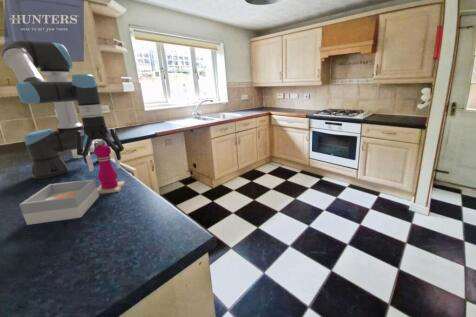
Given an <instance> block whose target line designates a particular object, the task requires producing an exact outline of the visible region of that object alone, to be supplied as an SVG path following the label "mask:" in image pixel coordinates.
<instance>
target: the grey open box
mask: <svg viewBox="0 0 476 317" xmlns="http://www.w3.org/2000/svg"><path fill="white" fill-rule="evenodd" d="M97 188H98V186H97V183H96V179H94V178H93V179H86V180H75V181H68V182H67V181H65V182H59V183H58V182H57V183H49V184H48V185H46V186H45V187H43V188H41V189H40V190H39V191H37V192H36V193H34V194H32V195H31V196H29V197H28V198H26V199H25V200H24V201H22V202H21V203H19V205H18V206H19V208H20V210H21V213H22V216H23V218H24V221H25V222H26V223H25V224H26V225H27V226H30V225H34V224H35V225H36V224H42V223H50V222H57V221H58V222H59V221H65V220H71V219H78V218H82V217H83V216H84V214H85V213H86V212H87V211H88V210H89V209H90V207H92V206H93V204H94V203H95V202H96V201H97V199H98V198H99V197H100V194H99V193H98V190H97ZM69 193H77V194H76V195H74V196H73V197H66V198H58V199H54V198H55V197H56V196H58V195H61V194H69Z"/></svg>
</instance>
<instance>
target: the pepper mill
mask: <svg viewBox="0 0 476 317" xmlns="http://www.w3.org/2000/svg"><path fill="white" fill-rule="evenodd" d="M103 144H104V143H103V142H102V140H101V141H100V142H99V146H97V147H95V149H94V152H93V153H94V155H95V156H96V160H97V159H98V160H97V162H98V163H99V170H98V174H97V179H98V182H100V184H101V187H102V188H103V189H109V188H113V187H116V186H117V185H118V183H117V181H118V180H117V178H118V172H117V171H116V170H115V168H114V167H113V165H112V163H111V159H112V157H111V155H110V154H111V152H112V148H111V147H110V146H109V145H108V144H107V145H103ZM97 156H98V157H97Z"/></svg>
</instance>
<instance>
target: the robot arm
mask: <svg viewBox="0 0 476 317" xmlns="http://www.w3.org/2000/svg"><path fill="white" fill-rule="evenodd" d="M1 57H2V60H3V62H4V64H5V65H6V66H7V67H8V68H9V69H11V70H12V72H13V73H14V76H15V77H16V80H18V82H17V83H16V84H15V88H16V92H17V96H18V98H19V99H20V102H21V103H22V104H26V105H27V104H31V105H36V104H37V105H39V104H47V103H53V105H54V109H55V113H56V116H57V119H58V125H56V129H57V130H53V129H52V128H45V129H40V130H36V131H32V132H28V133H27V134H25V135H24V137H23V138H24V142H25V144H24V145H25V146H26V148H27V151H28V153H29V154H28V155H29V157H30V160H31V163H32V166H31V176H32V178H33V179H34V180H44V179H49V178H54V177H57V176H58V177H59V176H61V175H65V173H68V172H69V171H70V170H69V166H68V165H67V163H66V162H65V161H64V160H63V159H62V157H61V154H60V153H64V152H70V151H71V150H75V149H77V155H81V156H83V158H82V159H83V161H84V163H85V164H87V166H88V170H89V172H93V170H95V167H94V163H93V159H92V155H91V154H90V155H88V154H89V153H90V152H89V150H90V147H91V144H92V142H93V140H96V139H101V140H104V141H105V142H106V144H107V146H109V147H110V149H111V150H112V151H113V152H114V153H113V157H114V161H115V166H116V169H119V168H120V167H121V162H120V161H121V159H122V155H121V152H123V151H124V150H125V147H124V145H123V144H122V142H121V140H120V139H119V138H120V137H119V136H118V135H117V130H116V128H115V127H112V128H108V127H107V125H106V120H105V116H104V115H103V114H104V112H103V108H102V105H101V99H100V94H99V91H98V84H97V82H96V79H95V76H94V75H93V74H90V73H89V74H87V73H85V74H83V73H79V74H76V73H75V74H71V76H70V79H71V81H69V78H68V76H69V74H70V73H71V71H70V70H71V69H73V60H72V58H71V56H70V54H69V51H68V49H67V48H66V46H65V45H63V44H62V43H61V44H60V43H58V42H52V41H51V42H50V41H37V40H36V41H35V40H27V39H22V40H21V39H19V40H15V41H11V42H9V43H8V44H6V45H4V47H3V49H2V51H1ZM38 69H39V70H38ZM39 71H40V72H39ZM41 73H42V74H43V75H44V76H45V77H46V80H45V79H44V78H43V76H42V74H41ZM75 102H77V105H78V106H77V107H78V109H79V110H78V111H79V113H80V116H81V121H82V122H80V121H79V117H78V114H77V109H76V106H75ZM108 133H109V134H110V136H111V138H112V139H113V141H114V142H113V141H112V139H111V138H110V137H109V135H108ZM83 148H84V151H83Z"/></svg>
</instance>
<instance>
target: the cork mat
mask: <svg viewBox="0 0 476 317" xmlns="http://www.w3.org/2000/svg"><path fill="white" fill-rule="evenodd" d="M117 183H118V185H117V186H116V187H113V188H109V189H103V188H102V187H101V183H100V185H99V186H97V190H98V193H99V195H104V194H105V195H106V194H112V193H120V191H121V190H122V188H123V187H124V186H125V184H126V180H117Z"/></svg>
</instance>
